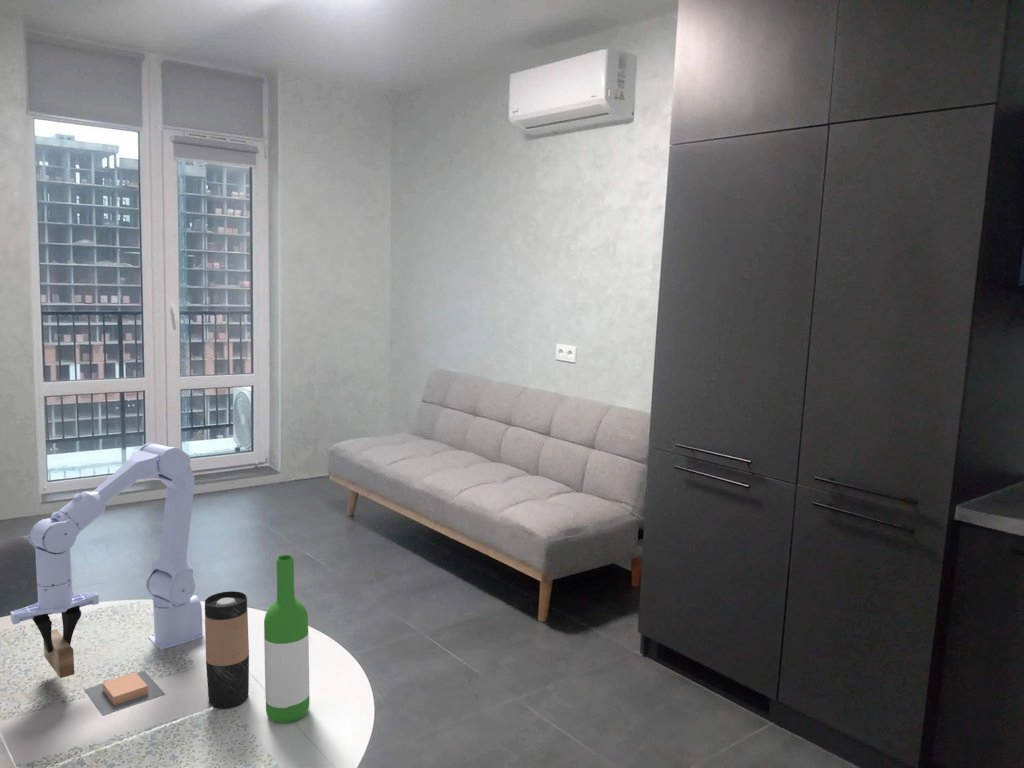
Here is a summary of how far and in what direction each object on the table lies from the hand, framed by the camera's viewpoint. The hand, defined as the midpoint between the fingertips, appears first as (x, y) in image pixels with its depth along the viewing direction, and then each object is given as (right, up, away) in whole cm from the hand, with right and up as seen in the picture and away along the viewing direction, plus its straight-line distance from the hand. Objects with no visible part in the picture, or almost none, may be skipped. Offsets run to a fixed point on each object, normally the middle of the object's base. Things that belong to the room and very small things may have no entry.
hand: (58, 648), depth 147 cm
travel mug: (+34, -9, -3) cm, 36 cm away
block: (+12, -7, 0) cm, 13 cm away
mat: (+14, -8, -2) cm, 16 cm away
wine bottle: (+47, -10, -7) cm, 49 cm away
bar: (0, -4, 0) cm, 3 cm away
